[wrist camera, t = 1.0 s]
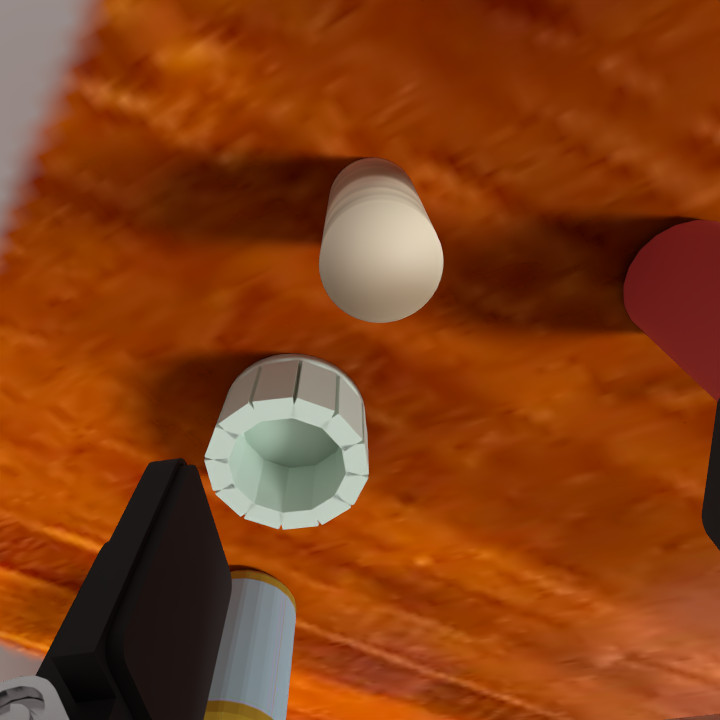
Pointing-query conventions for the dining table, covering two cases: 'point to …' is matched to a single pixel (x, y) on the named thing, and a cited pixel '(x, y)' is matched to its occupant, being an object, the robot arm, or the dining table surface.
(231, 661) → the bottle
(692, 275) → the beer can
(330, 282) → the plug
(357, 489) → the cup
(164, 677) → the robot arm
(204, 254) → the dining table surface
